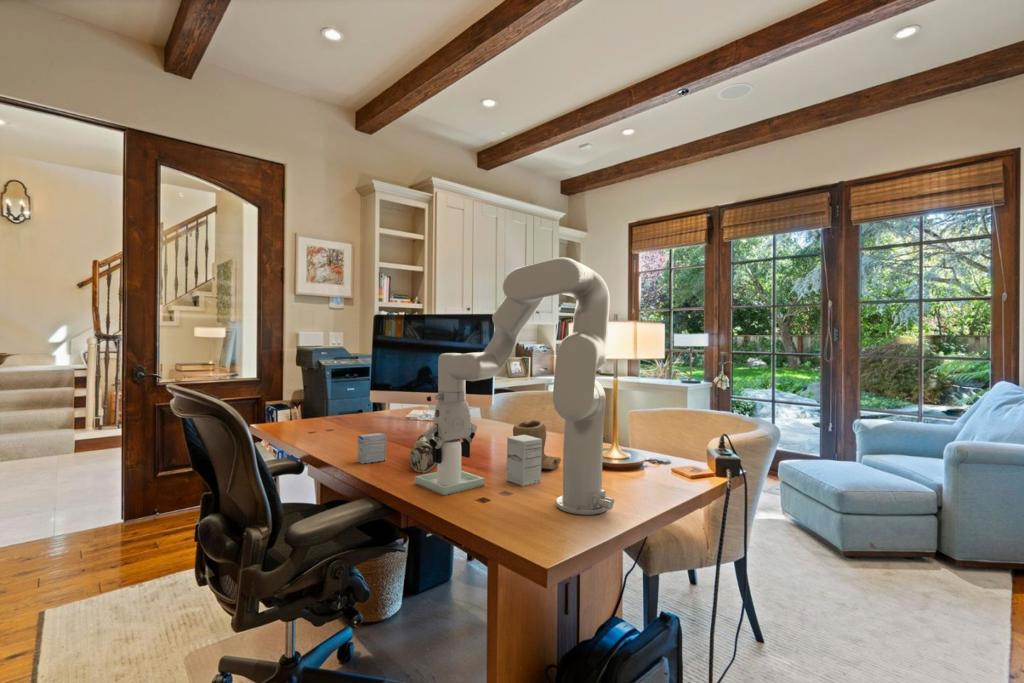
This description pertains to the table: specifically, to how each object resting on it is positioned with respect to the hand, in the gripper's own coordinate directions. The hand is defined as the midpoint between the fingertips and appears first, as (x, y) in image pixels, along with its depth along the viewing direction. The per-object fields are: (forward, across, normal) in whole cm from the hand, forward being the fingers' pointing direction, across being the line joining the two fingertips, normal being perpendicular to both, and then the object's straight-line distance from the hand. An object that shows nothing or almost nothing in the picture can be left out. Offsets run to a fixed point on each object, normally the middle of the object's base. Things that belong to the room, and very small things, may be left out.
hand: (451, 459), depth 134 cm
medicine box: (+7, -4, +38) cm, 38 cm away
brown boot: (+8, +31, -2) cm, 32 cm away
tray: (+7, 0, +1) cm, 7 cm away
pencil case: (+7, +8, +24) cm, 26 cm away
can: (+7, -1, 0) cm, 7 cm away
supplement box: (+8, +18, -10) cm, 22 cm away
